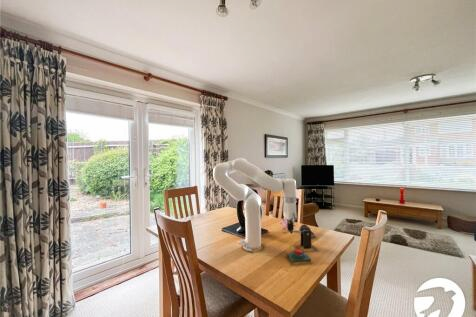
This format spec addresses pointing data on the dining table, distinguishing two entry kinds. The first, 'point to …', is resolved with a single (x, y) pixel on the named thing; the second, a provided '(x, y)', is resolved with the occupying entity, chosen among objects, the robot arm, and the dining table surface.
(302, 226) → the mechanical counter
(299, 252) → the button
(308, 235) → the bracket
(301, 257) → the button box
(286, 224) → the lily
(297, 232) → the lever
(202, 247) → the dining table surface
